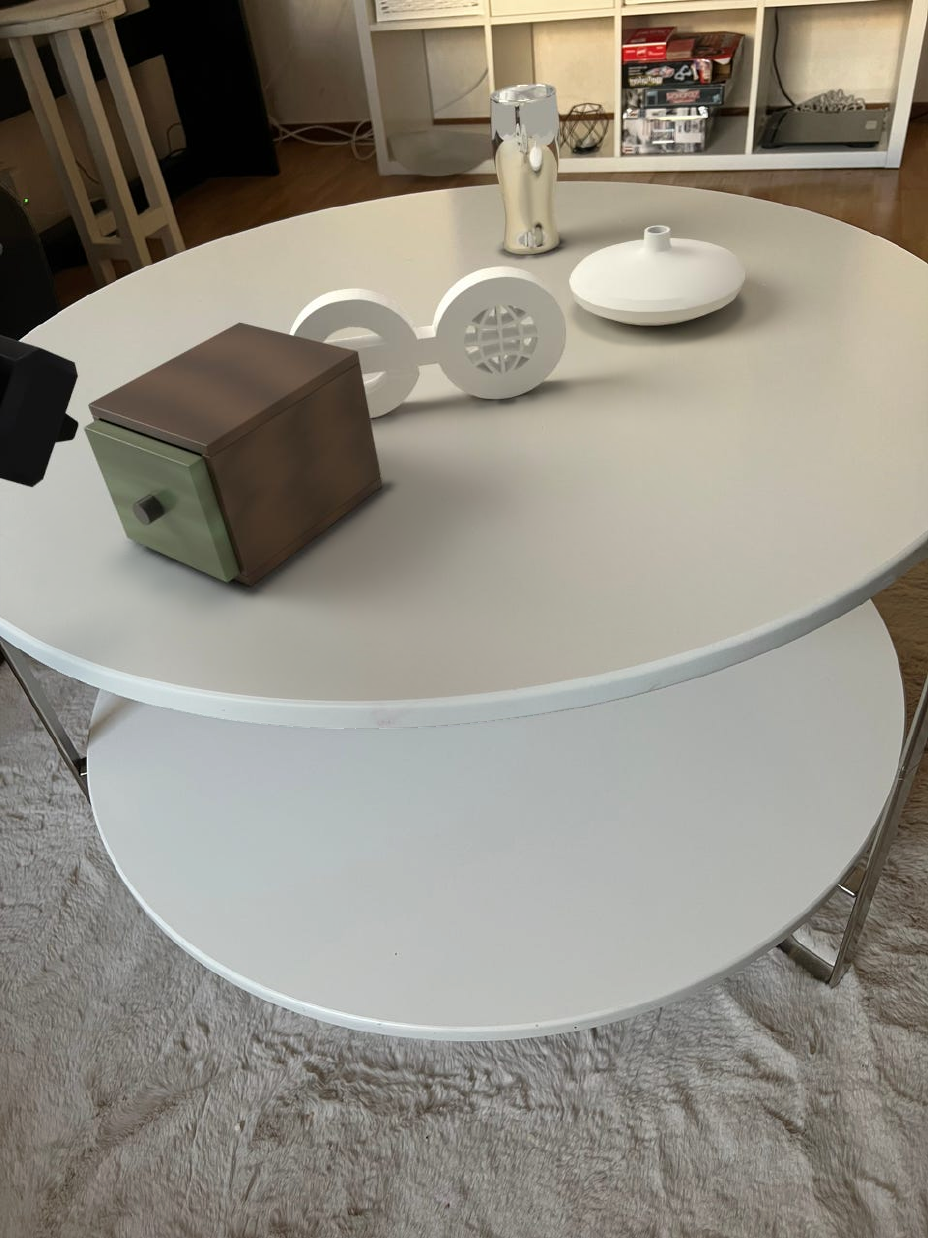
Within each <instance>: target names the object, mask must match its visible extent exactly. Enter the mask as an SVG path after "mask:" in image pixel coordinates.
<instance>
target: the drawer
mask: <svg viewBox="0 0 928 1238" xmlns="http://www.w3.org/2000/svg"><path fill="white" fill-rule="evenodd" d="M126 428H127V427H126ZM83 431H84V433H85V436H86V438H87V440H88V442H89V443H88V444H89V445H90V448H91V450H92V453H93V455H94V458H95V461H96V463H97V465H98V468H99V471H100V473H101V476H102V478H103V480H104V483H105V485H106V487H107V488H106V489H107V490H108V493H109V496H110V498H111V500H112V503H113V505H114V508H115V510H116V513H117V515H118V518H119V520H120V523H121V525H122V528H123V530H124V533H125V535H126V537H127V539H129V540H131V541H133V542H136V543H138V544H139V545H143V546H145V547H147V548H149V549H151V550H153V551H155V552H158V553H160V554H163V555H164V556H167V557H169V558H172V559H173V560H176V561H178V562H180V563H182V564H184V565H187V566H189V567H192V568H194V569H196V570H198V571H200V572H203V573H204V574H207V575H209V576H211V577H214V578H216V579H217V580H220V581H223V582H225V583H229V582H231V580H234V579H233V578H234V577H236V576H237V575H238V574H240V571H239V568H238V565H237V561H236V558H235V555H234V552H233V549H232V546H231V542H230V539H229V536H228V533H227V530H226V527H225V524H224V520H223V517H222V514H221V511H220V508H219V505H218V502H217V498H216V495H215V492H214V489H213V486H212V483H211V479H210V476H209V473H208V470H207V467H206V464H205V461H204V458H203V456H202V455H203V454H200V453H197V452H194V451H191V450H189V449H186V448H183V447H180V446H177V445H175V444H172V443H169V442H166V441H163V440H161V439H158V438H155V437H152V436H149V435H147V434H144V433H141V432H138V431H135V430H132V429H130V428H127V430H126V429H123V428H120V427H117V426H115V425H112V424H109V423H106V422H103V421H101V420H96V421H94V420H93V421H92V422H90V423H89V424H86V425H85V426H83Z"/></svg>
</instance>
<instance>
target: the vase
mask: <svg viewBox="0 0 928 1238" xmlns="http://www.w3.org/2000/svg"><path fill="white" fill-rule="evenodd" d="M643 233H644V235H643V239H636V240H635V239H634V240H630V241H625V242H621V243H616V244H612V245H609V246H607V247H604V248H601V249H598V250H596V251H594V252H593V253H591V254H589V255H587V256H585V257H584V258H583V259H582V260H581V261H580V262H579V263H578V264H577V265H576V267H575V268H574V269H573V271H572V272H571V275H570V277H569V280H568V283H569V287H570V289H571V293H572V295H573V297H574V300H575V302H576V303H577V304H578V305H579V306H580V307H581V308H582V309H583V310H586V311H588V312H590V313H592V314H594V315H596V316H598V317H602V318H605V319H608V320H611V321H615V322H619V323H623V324H627V325H635V326H665V325H675V324H679V323H683V322H687V321H691V320H694V319H697V318H699V317H703V316H705V315H707V314H710V313H712V312H715V311H718V310H720V309H722V308H724V307H725V306H728V304H730V303H731V302H733V301H734V300H736V298H737V296H738V295H739V293H740V292H741V289H742V287H743V285H744V283H745V280H746V268H745V267H744V266H743V263H741V261H740V260H739V258H738V257H737V256H736V255H735V254H734V253H733V252H731V251H730V250H728V249H727V248H725V247H723V246H720V245H717V244H715V243H711V242H708V241H702V240H697V239H693V238H692V239H691V238H679V237H678V238H677V237H671V228H670V227H669V226H666V225H652V226H648V227H646V228H645V229H644V231H643Z"/></svg>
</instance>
